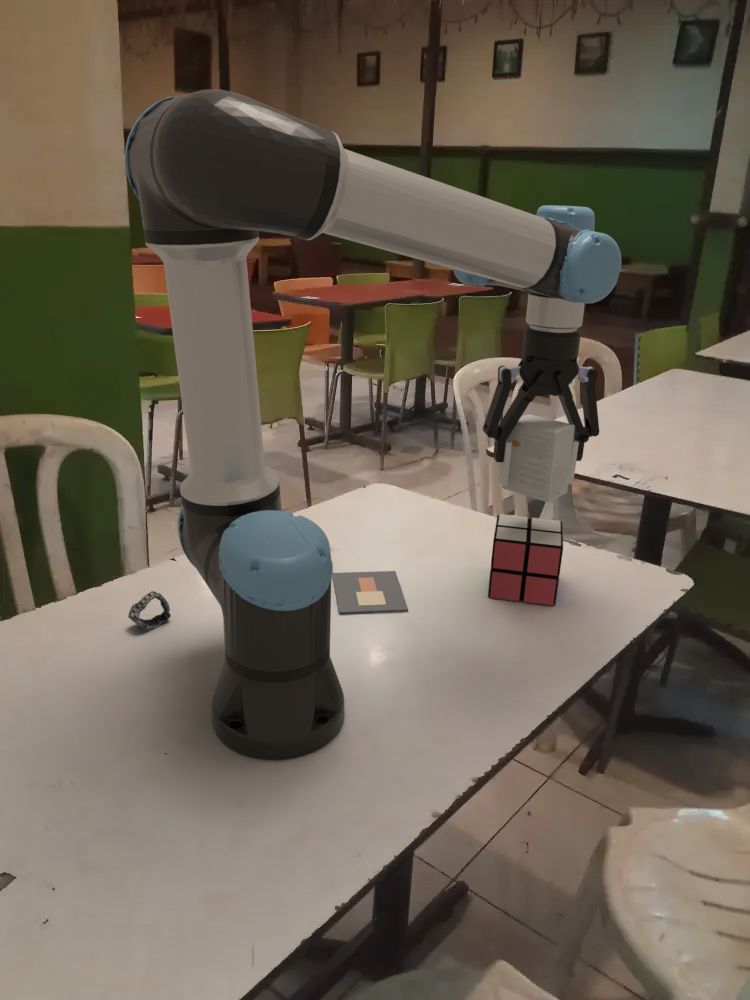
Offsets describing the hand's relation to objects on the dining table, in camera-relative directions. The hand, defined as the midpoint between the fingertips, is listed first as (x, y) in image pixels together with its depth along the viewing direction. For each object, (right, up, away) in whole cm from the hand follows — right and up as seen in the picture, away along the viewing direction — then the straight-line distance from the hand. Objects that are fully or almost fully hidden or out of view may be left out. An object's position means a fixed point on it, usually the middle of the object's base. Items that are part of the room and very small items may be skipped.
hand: (535, 481), depth 115 cm
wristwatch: (-54, -20, -7) cm, 58 cm away
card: (-24, -17, +3) cm, 30 cm away
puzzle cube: (-1, -17, +7) cm, 18 cm away
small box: (0, -2, +1) cm, 2 cm away
